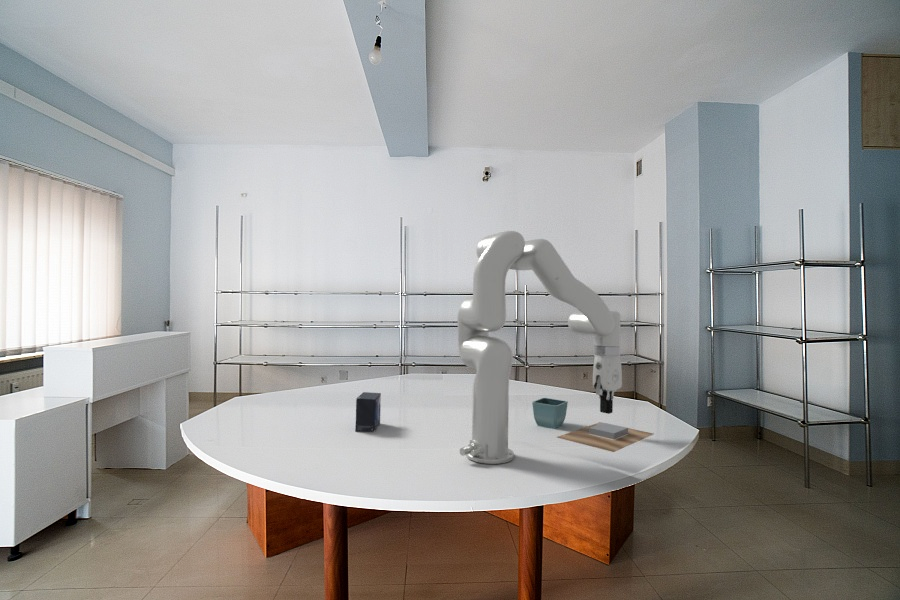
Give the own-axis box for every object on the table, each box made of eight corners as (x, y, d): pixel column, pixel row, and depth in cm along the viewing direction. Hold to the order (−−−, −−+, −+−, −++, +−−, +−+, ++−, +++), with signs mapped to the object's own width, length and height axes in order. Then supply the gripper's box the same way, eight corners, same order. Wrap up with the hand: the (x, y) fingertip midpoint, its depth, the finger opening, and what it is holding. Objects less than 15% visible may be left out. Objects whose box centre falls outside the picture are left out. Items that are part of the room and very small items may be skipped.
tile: (614, 433, 136) (628, 427, 142) (589, 427, 142) (603, 422, 148) (613, 440, 136) (628, 434, 142) (589, 434, 142) (603, 428, 148)
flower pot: (556, 434, 146) (557, 405, 146) (531, 429, 151) (531, 401, 151) (568, 428, 153) (568, 401, 153) (543, 424, 158) (543, 397, 158)
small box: (375, 432, 146) (376, 398, 146) (354, 432, 146) (355, 398, 146) (381, 423, 156) (381, 392, 156) (361, 423, 156) (362, 391, 156)
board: (613, 456, 125) (613, 451, 125) (556, 441, 138) (556, 437, 138) (654, 437, 143) (654, 433, 143) (599, 425, 156) (599, 422, 156)
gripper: (606, 354, 133) (605, 419, 133) (630, 351, 143) (629, 411, 143) (582, 352, 139) (582, 414, 138) (607, 349, 149) (606, 406, 149)
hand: (606, 412), depth 141 cm, fingers closed
